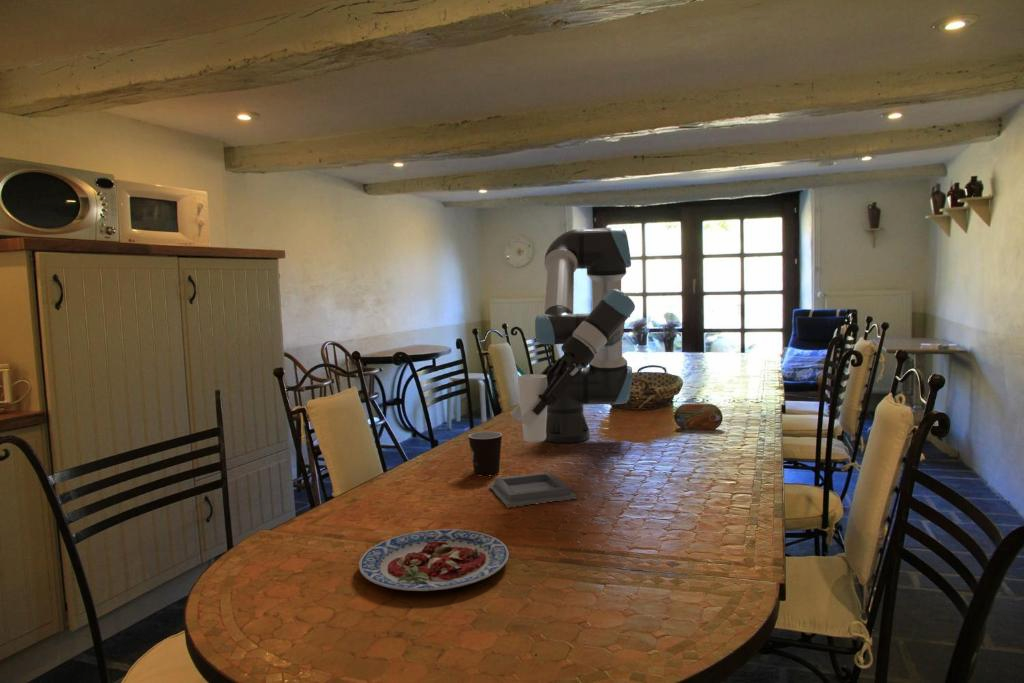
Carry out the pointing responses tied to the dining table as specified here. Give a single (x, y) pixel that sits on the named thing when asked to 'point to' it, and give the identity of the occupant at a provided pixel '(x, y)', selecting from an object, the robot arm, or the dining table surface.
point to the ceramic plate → (433, 560)
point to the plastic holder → (531, 489)
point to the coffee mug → (485, 452)
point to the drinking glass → (528, 395)
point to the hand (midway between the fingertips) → (519, 420)
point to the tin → (698, 416)
